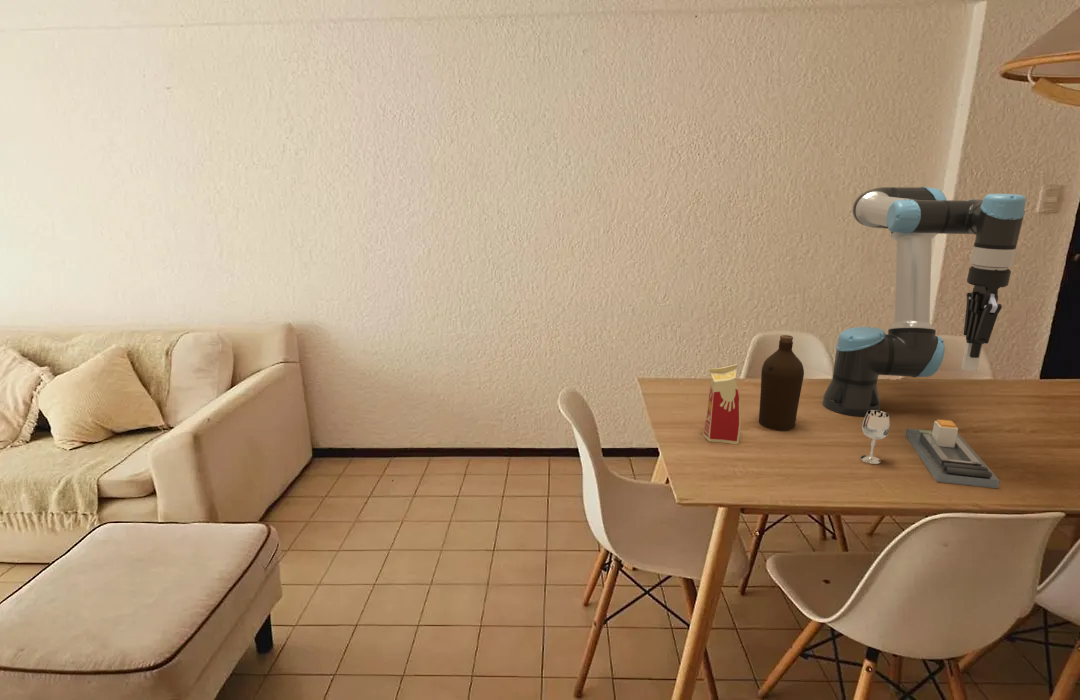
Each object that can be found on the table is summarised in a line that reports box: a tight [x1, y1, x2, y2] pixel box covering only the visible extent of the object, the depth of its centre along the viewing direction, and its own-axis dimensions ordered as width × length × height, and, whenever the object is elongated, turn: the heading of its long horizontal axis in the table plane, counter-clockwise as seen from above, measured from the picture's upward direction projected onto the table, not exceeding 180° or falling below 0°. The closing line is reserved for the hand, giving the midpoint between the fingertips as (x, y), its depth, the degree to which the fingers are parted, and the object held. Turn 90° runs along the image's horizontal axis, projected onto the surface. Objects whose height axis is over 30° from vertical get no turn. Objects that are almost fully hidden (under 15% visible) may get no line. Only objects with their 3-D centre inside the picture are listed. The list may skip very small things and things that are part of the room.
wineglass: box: [859, 410, 891, 465], centre depth 151 cm, size 6×6×12 cm
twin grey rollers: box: [943, 463, 992, 478], centre depth 141 cm, size 9×4×1 cm, turn 75°
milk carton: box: [702, 363, 742, 445], centre depth 163 cm, size 9×9×20 cm
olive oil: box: [758, 334, 805, 432], centre depth 169 cm, size 11×11×25 cm
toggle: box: [931, 419, 959, 448], centre depth 155 cm, size 4×4×6 cm
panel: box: [904, 427, 1001, 489], centre depth 152 cm, size 12×26×3 cm, turn 165°
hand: (968, 369), depth 144 cm, fingers closed
